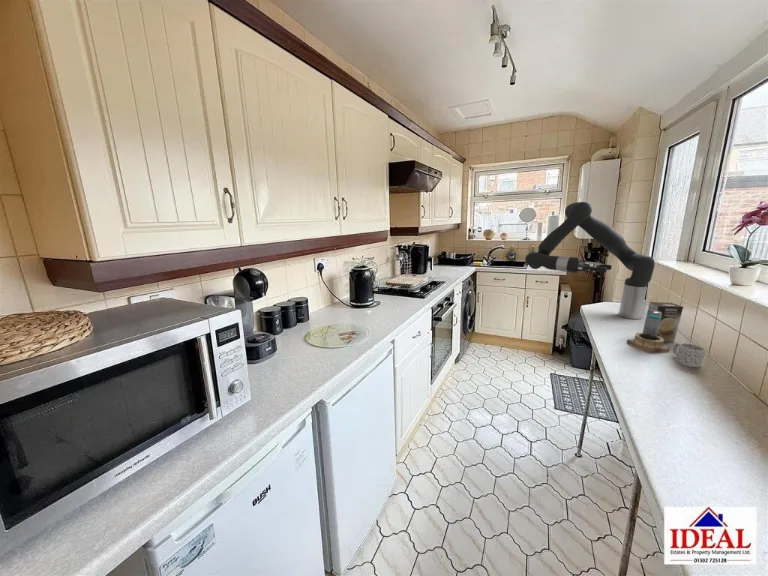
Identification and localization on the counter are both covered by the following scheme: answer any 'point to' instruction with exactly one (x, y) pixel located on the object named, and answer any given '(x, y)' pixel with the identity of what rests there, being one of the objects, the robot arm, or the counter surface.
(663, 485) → the counter surface
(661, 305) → the coffee box
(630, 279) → the robot arm
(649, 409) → the counter surface
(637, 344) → the dock
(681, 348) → the mug
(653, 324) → the cylinder
